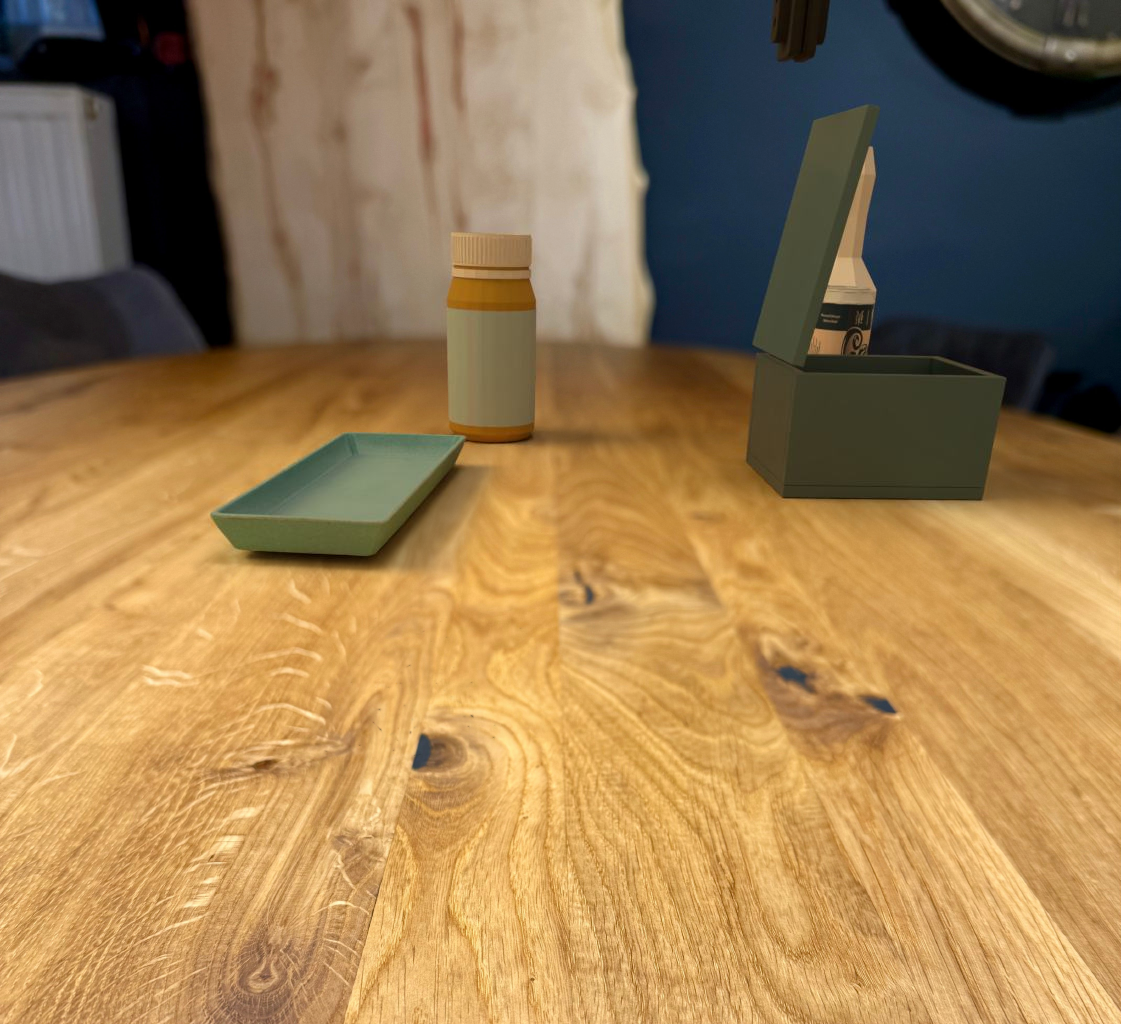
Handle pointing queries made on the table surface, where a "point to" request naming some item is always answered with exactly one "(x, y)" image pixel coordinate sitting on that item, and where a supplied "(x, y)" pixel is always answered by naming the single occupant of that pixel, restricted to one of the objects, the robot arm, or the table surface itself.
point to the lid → (814, 232)
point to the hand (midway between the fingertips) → (795, 58)
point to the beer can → (844, 321)
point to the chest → (873, 426)
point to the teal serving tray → (340, 494)
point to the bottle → (491, 337)
